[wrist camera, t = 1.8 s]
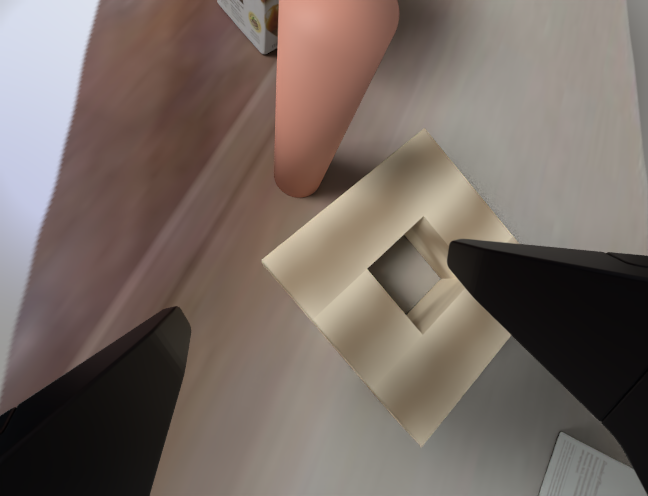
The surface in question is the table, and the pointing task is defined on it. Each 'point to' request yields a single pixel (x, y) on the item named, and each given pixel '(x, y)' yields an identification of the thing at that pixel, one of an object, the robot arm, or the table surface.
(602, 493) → the supplement box
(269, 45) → the white food box
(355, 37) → the peg
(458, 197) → the socket board
